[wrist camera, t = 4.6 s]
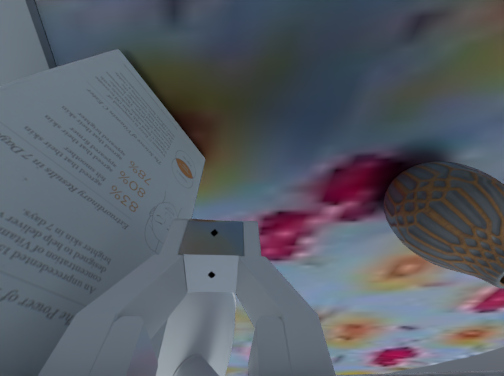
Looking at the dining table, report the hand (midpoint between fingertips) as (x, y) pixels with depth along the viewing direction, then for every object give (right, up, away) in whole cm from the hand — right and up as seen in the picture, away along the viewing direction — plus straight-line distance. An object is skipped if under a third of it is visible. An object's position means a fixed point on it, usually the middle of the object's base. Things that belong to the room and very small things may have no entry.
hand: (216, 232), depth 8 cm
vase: (+15, +2, +11) cm, 19 cm away
